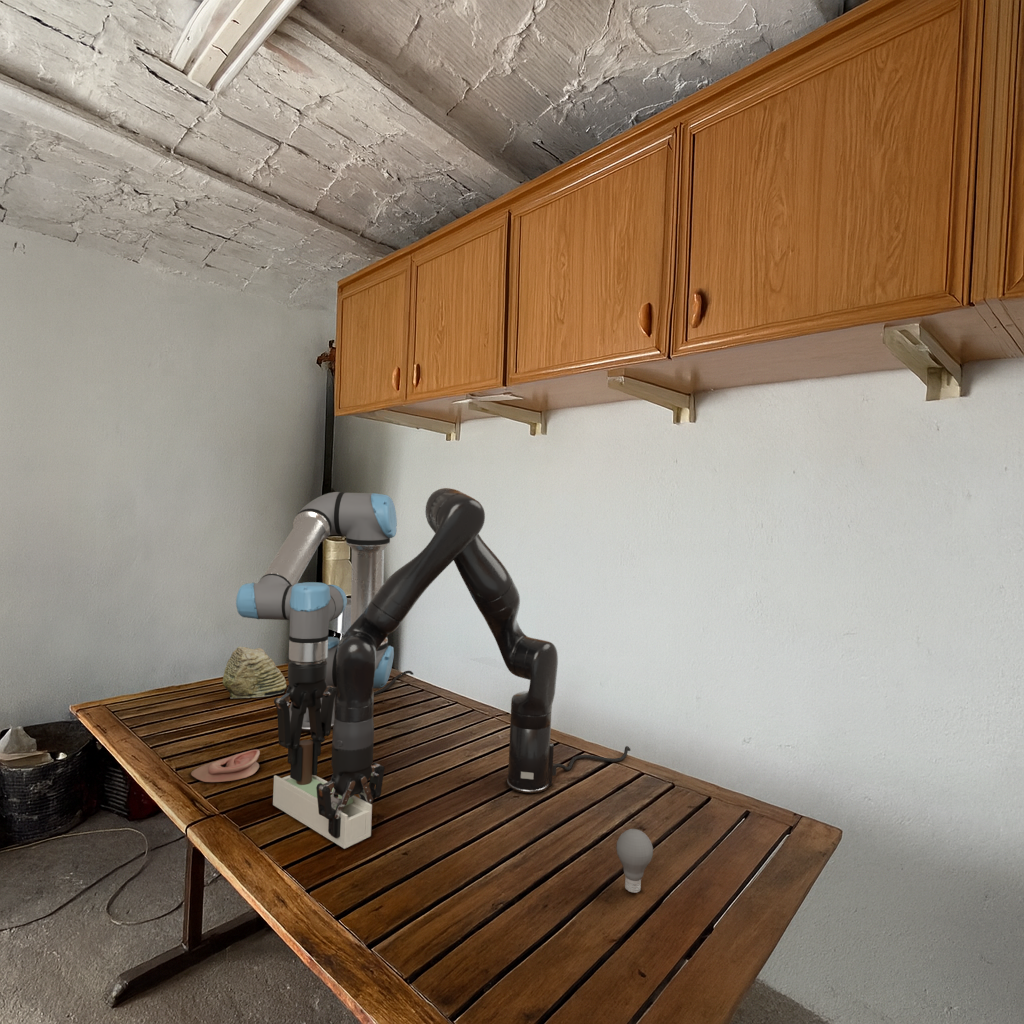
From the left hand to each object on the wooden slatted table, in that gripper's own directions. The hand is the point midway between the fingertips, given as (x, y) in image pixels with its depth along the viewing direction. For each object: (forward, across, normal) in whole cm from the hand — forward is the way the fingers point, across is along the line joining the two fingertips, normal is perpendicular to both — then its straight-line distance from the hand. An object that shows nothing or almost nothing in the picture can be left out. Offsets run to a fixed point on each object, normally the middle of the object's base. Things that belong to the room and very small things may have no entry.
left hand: (303, 775), depth 128 cm
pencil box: (+7, 0, +6) cm, 9 cm away
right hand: (+5, 0, +15) cm, 16 cm away
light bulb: (+7, -21, +63) cm, 67 cm away
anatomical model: (+7, +2, -27) cm, 28 cm away
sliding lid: (+2, 0, +5) cm, 6 cm away
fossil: (+7, -31, -74) cm, 80 cm away
